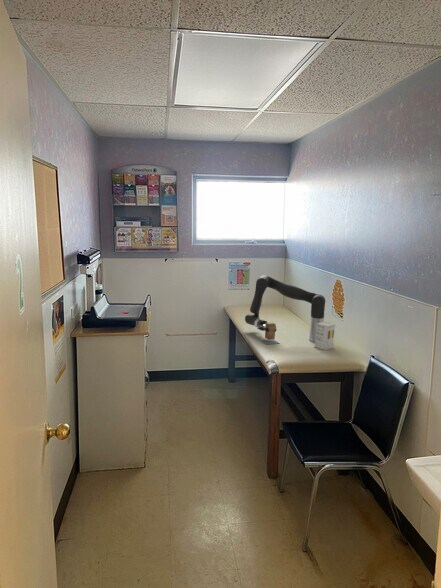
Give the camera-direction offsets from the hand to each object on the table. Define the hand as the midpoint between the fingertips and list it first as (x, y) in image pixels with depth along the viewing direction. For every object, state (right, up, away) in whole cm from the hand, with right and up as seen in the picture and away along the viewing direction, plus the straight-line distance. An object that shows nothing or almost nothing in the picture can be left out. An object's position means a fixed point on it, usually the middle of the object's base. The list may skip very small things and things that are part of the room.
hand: (272, 330), depth 302 cm
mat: (-1, -9, +4) cm, 10 cm away
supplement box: (+35, -12, -3) cm, 37 cm away
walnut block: (-1, -6, +4) cm, 7 cm away
